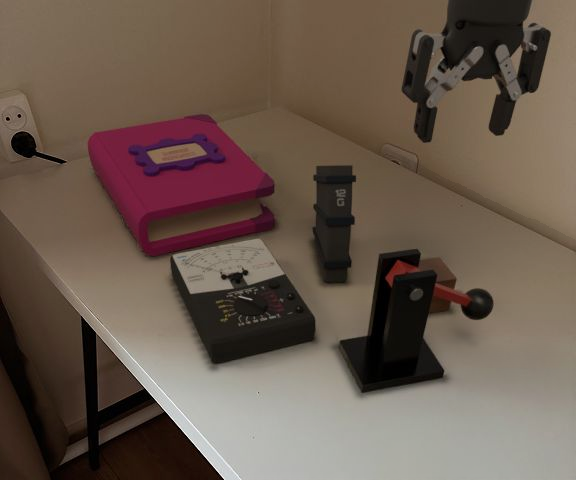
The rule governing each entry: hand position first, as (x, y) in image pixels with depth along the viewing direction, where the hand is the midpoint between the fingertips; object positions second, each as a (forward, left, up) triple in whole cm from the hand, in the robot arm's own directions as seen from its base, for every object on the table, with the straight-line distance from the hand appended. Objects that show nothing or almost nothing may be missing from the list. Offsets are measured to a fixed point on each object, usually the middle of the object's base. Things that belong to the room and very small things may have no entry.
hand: (460, 136), depth 68 cm
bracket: (+9, +10, -22) cm, 26 cm away
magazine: (+9, -13, -22) cm, 27 cm away
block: (0, 0, -22) cm, 22 cm away
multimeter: (+24, -4, -22) cm, 33 cm away
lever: (+5, +10, -14) cm, 18 cm away
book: (+27, -34, -22) cm, 49 cm away
